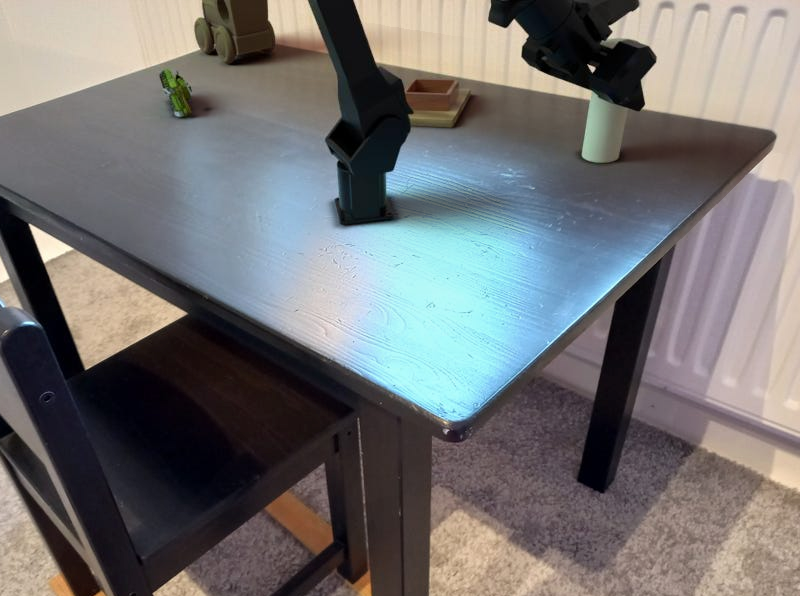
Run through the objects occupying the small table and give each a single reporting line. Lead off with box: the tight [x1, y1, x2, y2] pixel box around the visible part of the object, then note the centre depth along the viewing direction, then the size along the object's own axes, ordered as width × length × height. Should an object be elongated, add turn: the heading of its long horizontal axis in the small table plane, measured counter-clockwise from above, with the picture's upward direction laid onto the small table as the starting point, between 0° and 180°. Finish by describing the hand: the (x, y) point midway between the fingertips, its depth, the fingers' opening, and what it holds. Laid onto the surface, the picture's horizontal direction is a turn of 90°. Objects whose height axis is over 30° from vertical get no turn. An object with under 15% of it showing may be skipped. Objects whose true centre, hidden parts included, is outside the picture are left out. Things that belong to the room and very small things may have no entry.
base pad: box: [404, 77, 472, 129], centre depth 110 cm, size 14×10×4 cm
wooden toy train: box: [193, 0, 276, 65], centre depth 141 cm, size 20×11×17 cm, turn 31°
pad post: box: [581, 37, 640, 164], centre depth 88 cm, size 5×5×14 cm
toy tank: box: [158, 67, 194, 118], centre depth 123 cm, size 7×19×10 cm
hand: (616, 97), depth 88 cm, fingers open, 9 cm apart
